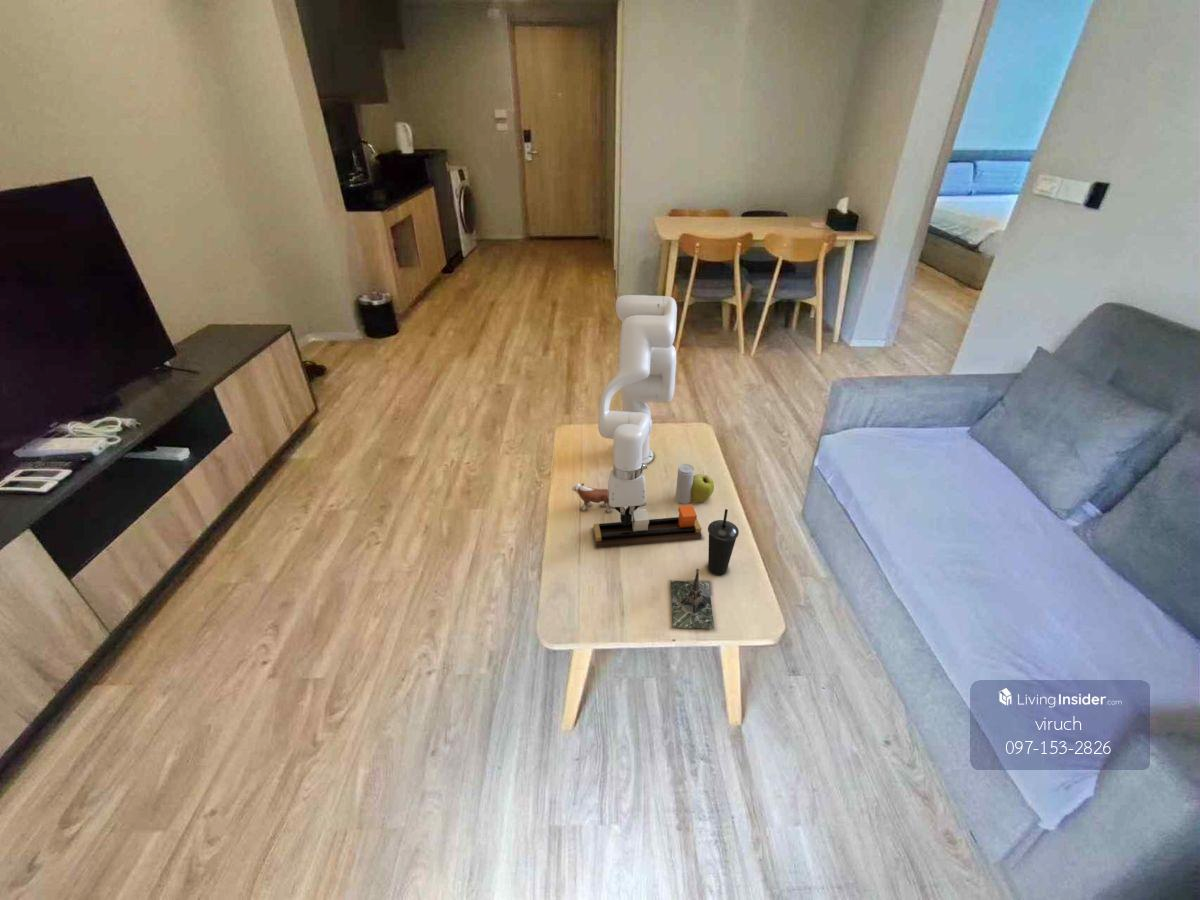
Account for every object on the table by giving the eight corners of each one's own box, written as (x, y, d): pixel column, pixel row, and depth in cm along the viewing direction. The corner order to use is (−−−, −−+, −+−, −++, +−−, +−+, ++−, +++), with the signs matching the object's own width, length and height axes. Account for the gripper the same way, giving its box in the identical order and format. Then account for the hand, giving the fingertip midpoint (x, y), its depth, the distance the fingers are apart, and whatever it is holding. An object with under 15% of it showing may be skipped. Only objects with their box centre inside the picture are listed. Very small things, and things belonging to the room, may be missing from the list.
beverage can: (686, 506, 165) (690, 474, 158) (672, 501, 167) (675, 469, 161) (693, 498, 168) (696, 466, 162) (679, 493, 170) (682, 462, 164)
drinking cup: (697, 563, 144) (704, 505, 133) (721, 555, 147) (730, 497, 136) (713, 582, 138) (722, 523, 127) (737, 574, 141) (748, 515, 130)
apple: (679, 492, 169) (690, 465, 165) (699, 493, 173) (711, 467, 168) (691, 506, 163) (702, 479, 159) (712, 507, 166) (724, 480, 162)
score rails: (593, 527, 154) (593, 523, 154) (695, 519, 157) (695, 515, 157) (596, 541, 149) (596, 537, 149) (700, 532, 152) (701, 528, 152)
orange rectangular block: (677, 520, 156) (678, 505, 153) (690, 519, 157) (692, 504, 154) (681, 532, 152) (682, 516, 149) (695, 531, 152) (696, 515, 150)
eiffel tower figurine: (669, 581, 139) (672, 542, 132) (708, 582, 138) (714, 544, 131) (672, 628, 126) (676, 588, 119) (715, 630, 126) (722, 590, 118)
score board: (593, 529, 156) (593, 525, 155) (693, 520, 159) (694, 516, 158) (596, 548, 149) (596, 544, 149) (701, 538, 152) (701, 534, 152)
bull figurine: (573, 500, 168) (572, 479, 163) (615, 506, 165) (616, 484, 161) (570, 509, 164) (569, 488, 160) (613, 514, 162) (613, 493, 157)
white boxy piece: (631, 524, 155) (631, 509, 152) (645, 523, 155) (645, 508, 152) (634, 536, 151) (634, 520, 148) (648, 535, 151) (649, 519, 148)
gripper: (652, 459, 145) (649, 512, 155) (597, 463, 144) (598, 516, 153) (658, 475, 139) (654, 529, 148) (600, 479, 137) (601, 533, 147)
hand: (626, 522), depth 151 cm, fingers closed
